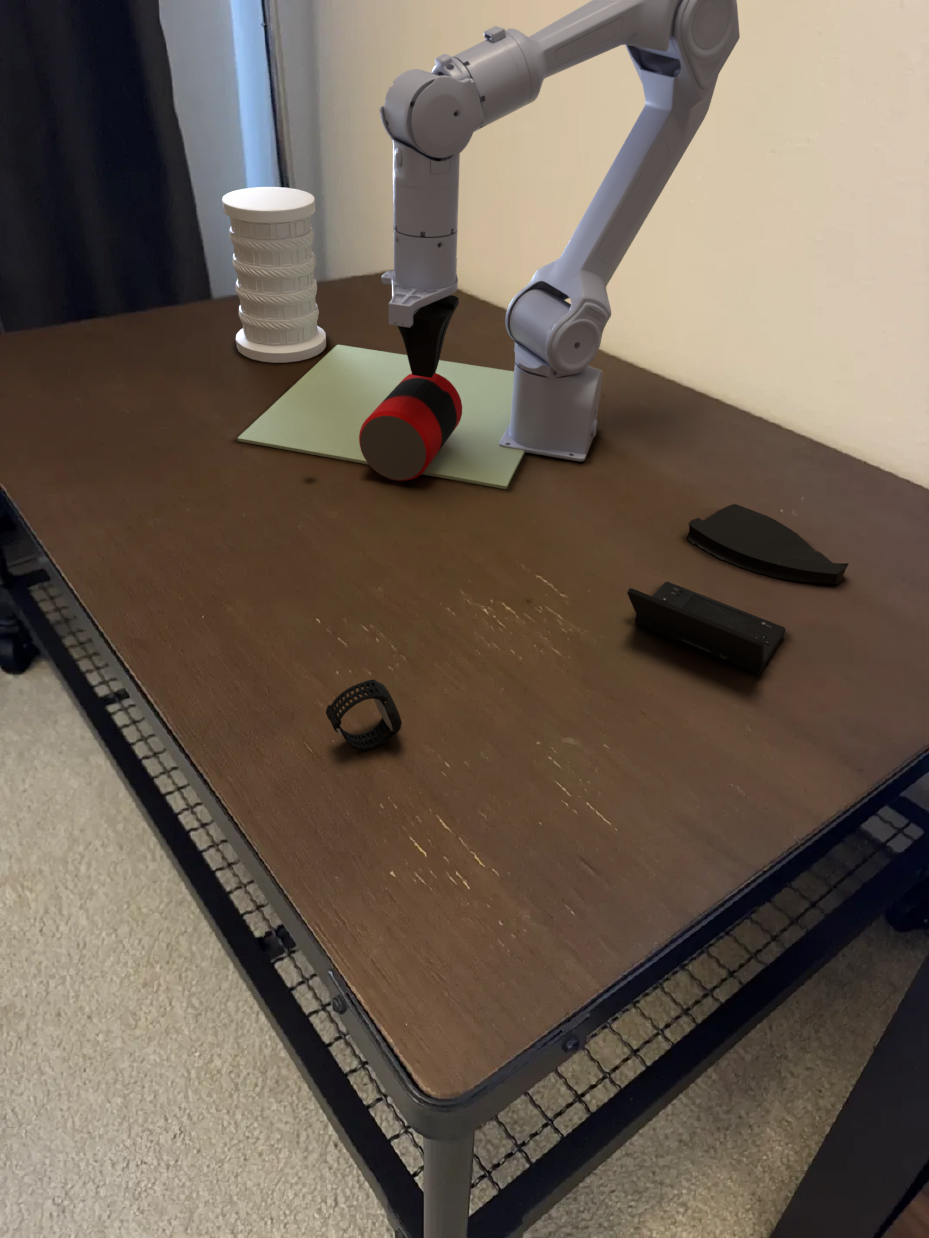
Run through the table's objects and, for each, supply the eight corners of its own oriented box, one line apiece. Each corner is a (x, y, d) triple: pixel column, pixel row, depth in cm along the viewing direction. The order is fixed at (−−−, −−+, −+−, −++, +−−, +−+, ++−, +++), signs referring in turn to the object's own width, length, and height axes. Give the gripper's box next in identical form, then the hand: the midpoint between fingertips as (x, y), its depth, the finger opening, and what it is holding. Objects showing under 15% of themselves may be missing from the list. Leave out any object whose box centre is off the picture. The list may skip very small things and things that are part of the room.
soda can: (417, 408, 86) (456, 361, 95) (347, 416, 89) (392, 370, 98) (437, 480, 90) (473, 428, 99) (370, 485, 93) (411, 434, 102)
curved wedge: (806, 607, 78) (811, 592, 77) (681, 538, 86) (684, 524, 85) (856, 571, 83) (861, 557, 82) (733, 509, 90) (736, 495, 89)
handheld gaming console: (791, 605, 75) (789, 562, 66) (773, 687, 74) (768, 654, 65) (655, 582, 80) (636, 539, 71) (635, 659, 78) (614, 625, 70)
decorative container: (320, 364, 114) (310, 214, 103) (228, 361, 114) (208, 209, 103) (331, 330, 123) (323, 188, 112) (246, 326, 123) (230, 184, 112)
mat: (561, 381, 113) (561, 378, 113) (506, 489, 92) (506, 486, 92) (337, 347, 119) (337, 344, 119) (237, 441, 98) (237, 437, 98)
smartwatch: (402, 759, 63) (402, 707, 60) (327, 761, 62) (323, 709, 59) (400, 717, 66) (400, 665, 63) (329, 719, 65) (325, 667, 62)
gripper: (408, 204, 87) (408, 341, 95) (353, 246, 76) (359, 397, 84) (479, 212, 86) (473, 351, 94) (433, 256, 74) (431, 409, 83)
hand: (423, 373), depth 89 cm, fingers closed
